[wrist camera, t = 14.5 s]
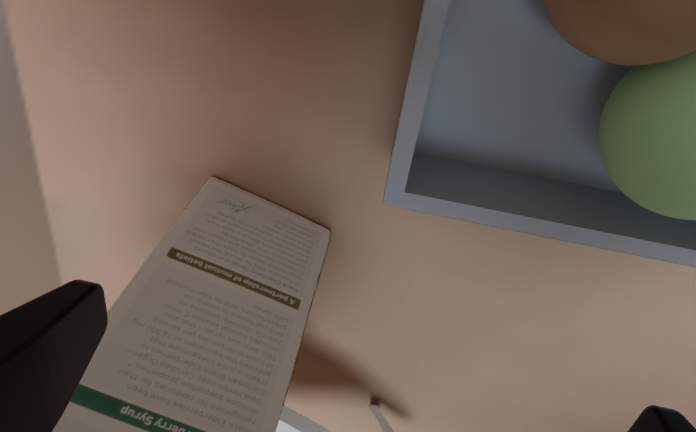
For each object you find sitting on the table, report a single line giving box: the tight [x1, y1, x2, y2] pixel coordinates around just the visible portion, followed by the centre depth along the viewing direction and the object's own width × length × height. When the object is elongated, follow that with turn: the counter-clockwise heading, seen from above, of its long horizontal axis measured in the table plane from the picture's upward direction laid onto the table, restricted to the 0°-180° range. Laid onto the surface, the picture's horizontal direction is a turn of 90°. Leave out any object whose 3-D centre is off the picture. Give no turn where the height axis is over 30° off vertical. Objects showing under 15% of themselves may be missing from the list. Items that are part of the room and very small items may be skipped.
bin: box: [382, 0, 696, 267], centre depth 15 cm, size 12×12×4 cm
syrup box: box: [52, 177, 331, 432], centre depth 17 cm, size 6×6×14 cm
